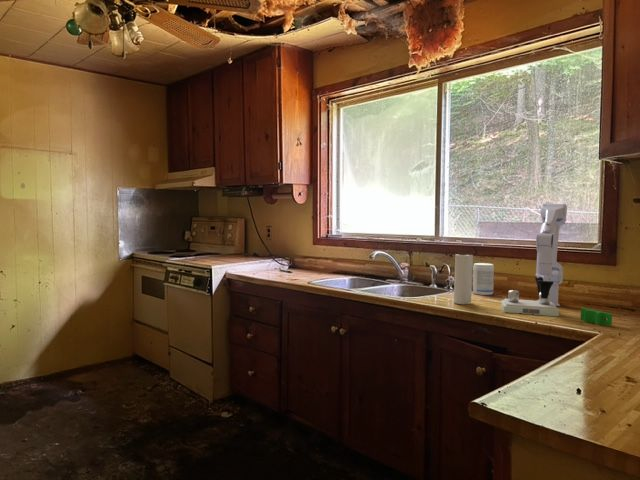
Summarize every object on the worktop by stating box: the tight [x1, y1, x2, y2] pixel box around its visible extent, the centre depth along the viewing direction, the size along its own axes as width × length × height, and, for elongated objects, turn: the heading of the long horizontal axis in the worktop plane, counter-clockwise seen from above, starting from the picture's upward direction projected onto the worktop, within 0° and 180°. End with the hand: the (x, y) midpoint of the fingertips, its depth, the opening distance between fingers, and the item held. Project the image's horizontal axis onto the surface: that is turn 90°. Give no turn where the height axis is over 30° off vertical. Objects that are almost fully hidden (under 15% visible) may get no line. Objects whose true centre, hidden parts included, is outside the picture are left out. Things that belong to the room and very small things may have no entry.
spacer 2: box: [538, 292, 550, 305], centre depth 189 cm, size 4×4×4 cm
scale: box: [500, 298, 560, 317], centre depth 191 cm, size 15×20×3 cm
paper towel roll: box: [453, 253, 474, 305], centre depth 203 cm, size 7×6×21 cm
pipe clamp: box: [580, 307, 613, 327], centre depth 172 cm, size 11×4×5 cm, turn 25°
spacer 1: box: [507, 289, 520, 303], centre depth 193 cm, size 4×4×4 cm
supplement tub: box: [472, 262, 495, 296], centre depth 229 cm, size 10×10×15 cm
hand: (542, 296), depth 189 cm, fingers open, 7 cm apart
